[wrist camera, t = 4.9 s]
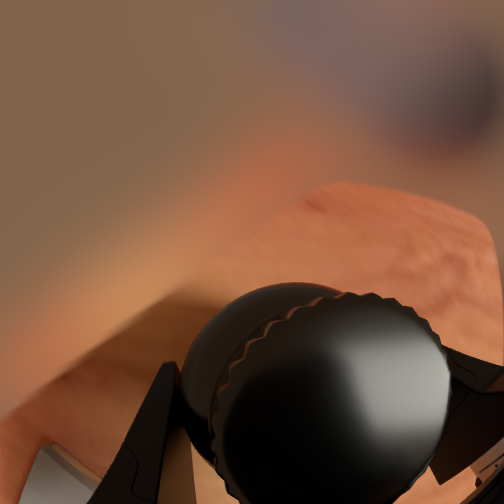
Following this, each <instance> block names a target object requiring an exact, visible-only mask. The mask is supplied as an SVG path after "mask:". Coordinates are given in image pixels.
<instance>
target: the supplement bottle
mask: <svg viewBox="0 0 504 504" xmlns="http://www.w3.org/2000/svg"><path fill="white" fill-rule="evenodd" d="M451 380H452V371H451V369H450V367H449V365H448V355H447V352H446V351H445V350H444V349H443V347H442V345H441V341H440V337H439V335H438V334H436V333H435V332H434V331H432V329H431V327H430V325H429V323H428V321H427V320H426V319H424V318H421V317H419V316H418V315H417V314H416V312H415V310H414V309H413V308H412V307H408V306H402V305H401V304H400V303H399V302H398V301H397V300H396V299H395V298H384V299H383V298H381V297H380V296H378V295H376V294H374V293H366V294H363V295H360V296H359V295H357V294H354V293H351V292H344V293H343V292H341V291H339V290H336V289H334V288H331V287H327V286H324V285H319V284H314V283H304V282H289V283H279V284H274V285H269V286H266V287H262V288H259V289H256V290H254V291H251V292H249V293H246V294H245V295H243V296H241V297H239V298H237V299H235V300H234V301H232V302H231V303H229V304H227V305H226V306H225V307H224V308H222V309H221V310H220V311H219V312H217V313H216V314H215V315H214V316H213V317H212V318H211V319H210V320H209V321H208V322H207V324H206V325H205V326H204V327H203V328H202V330H201V331H200V332H199V334H198V335H197V337H196V338H195V340H194V342H193V343H192V345H191V347H190V349H189V351H188V353H187V356H186V358H185V361H184V364H183V367H182V371H181V376H180V382H179V407H180V414H181V418H182V421H183V425H184V427H185V430H186V433H187V435H188V437H189V439H190V441H191V443H192V444H193V446H194V447H195V449H196V450H197V452H198V453H199V454H200V456H201V457H202V458H203V459H204V460H205V461H206V462H207V463H208V464H209V465H210V466H211V467H212V468H213V469H214V470H215V471H216V473H217V474H218V475H219V476H220V477H221V478H222V479H223V480H224V483H225V489H226V492H227V493H228V494H229V495H231V496H232V497H234V498H235V499H237V500H238V501H239V503H240V504H393V503H394V502H395V501H396V500H397V499H398V498H399V497H400V496H401V495H402V494H404V493H405V492H407V491H408V490H410V488H411V487H412V486H413V484H414V483H415V481H416V480H417V479H418V478H419V477H421V476H422V475H423V474H424V473H425V471H426V469H427V468H428V465H429V463H430V462H431V461H432V459H433V458H434V457H435V456H436V454H437V452H438V449H439V445H440V443H441V441H442V439H443V438H444V436H445V434H446V428H447V423H448V420H449V418H450V415H451V401H452V397H453V389H452V385H451Z"/></svg>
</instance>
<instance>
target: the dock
mask: <svg viewBox="0 0 504 504" xmlns="http://www.w3.org/2000/svg"><path fill="white" fill-rule="evenodd" d="M101 481H102V479H101V478H99V477H98V476H97V475H95V474H94V473H93V472H91V471H90V470H89V469H87V468H86V467H85V466H84V465H82V464H81V463H80V462H79V461H77V460H76V459H75V458H74V457H72V456H71V455H70V454H69V453H68V452H67V451H66V450H64V449H63V448H62V447H61V446H60V445H59V444H58V443H56V444H54V445H52V446H50V445H49V444H47V445H45V446H42V447H40V449H39V452H38V454H37V456H36V459H35V461H34V463H33V466H32V468H31V471H30V473H29V476H28V478H27V481H26V484H25V487H24V489H23V492H22V495H21V498H20V501H19V504H86V503H87V502H88V500H89V499H90V497H91V496H92V494H93V493H94V491H95V490H96V488H97V487H98V485H99V484H100V482H101Z"/></svg>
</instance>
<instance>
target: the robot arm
mask: <svg viewBox="0 0 504 504" xmlns="http://www.w3.org/2000/svg"><path fill="white" fill-rule="evenodd" d="M441 345H442V344H441ZM442 347H443V349H444V350H445V351H446V352H447V355H448V365H449V367H450V369H451V371H452V380H451V385H452V389H453V397H452V401H451V415H450V418H449V420H448V423H447V428H446V434H445V436H444V438H443V439H442V441H441V443H440V445H439V449H438V452H437V454H436V456H435V457H434V458H433V459H432V461H431V462H430V463H429V467H430V468H431V470H432V472H433V474H434V476H435V478H436V480H437V482H438V484H439V485H442V484H443V483H445V482H446V481H448V480H450V479H451V478H453V477H454V476H456V475H457V474H458V473H460V472H461V471H463V470H464V469H466V468H467V467H468V466H470V468H471V469H472V471H473V472H474V474H475V475H476V477H477V478H476V483H475V486H476V487H477V489H476V490H475V491H474V492H472V493H471V494H470V495H469V496H468V497H467V498H466V499H465V500H463V501H462V502H461V503H460V504H504V366H499V365H496V364H492V363H489V362H486V361H483V360H480V359H477V358H474V357H471V356H468V355H465V354H463V353H461V352H458V351H456V350H453V349H451V348H448V347H446V346H444V345H442ZM180 376H181V374H180V371H179V369H178V366H177V364H176V362H175V361H169V362H164V363H163V364H162V366H161V367H160V369H159V371H158V373H157V375H156V377H155V379H154V381H153V383H152V385H151V387H150V389H149V391H148V393H147V395H146V397H145V399H144V401H143V403H142V405H141V407H140V409H139V411H138V413H137V415H136V417H135V419H134V421H133V423H132V425H131V427H130V429H129V431H128V433H127V435H126V437H125V439H124V441H125V442H123V443H122V445H121V447H120V449H119V451H118V453H117V455H116V457H115V459H114V461H113V463H112V465H111V466H110V468H109V469H108V471H107V473H106V474H105V476H104V478H103V479H102V481H101V482H100V484H99V485H98V487H97V488H96V490H95V491H94V493H93V494H92V496H91V497H90V499H89V500H88V502H87V503H86V504H197V502H196V493H195V485H194V475H193V464H192V453H191V441H190V439H189V437H188V435H187V433H186V430H185V427H184V425H183V421H182V418H181V414H180V407H179V382H180Z"/></svg>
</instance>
